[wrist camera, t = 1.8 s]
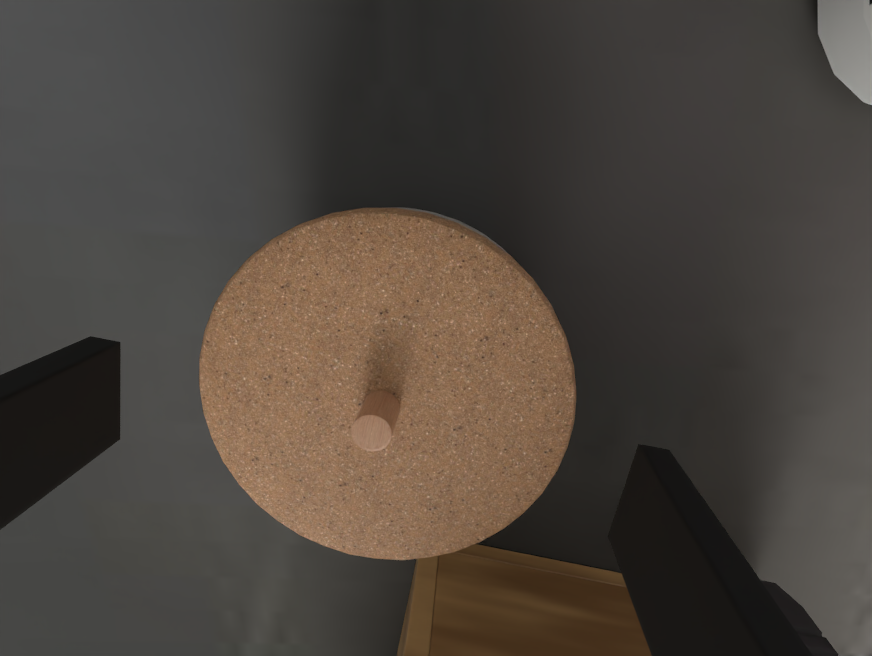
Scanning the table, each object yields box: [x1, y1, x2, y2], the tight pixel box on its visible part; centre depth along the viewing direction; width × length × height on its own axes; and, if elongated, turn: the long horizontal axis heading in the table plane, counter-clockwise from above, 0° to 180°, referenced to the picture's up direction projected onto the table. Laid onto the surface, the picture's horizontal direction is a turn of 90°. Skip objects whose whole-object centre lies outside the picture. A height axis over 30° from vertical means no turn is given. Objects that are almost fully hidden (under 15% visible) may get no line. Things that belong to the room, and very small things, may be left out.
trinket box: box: [199, 207, 577, 560], centre depth 18 cm, size 11×11×9 cm
